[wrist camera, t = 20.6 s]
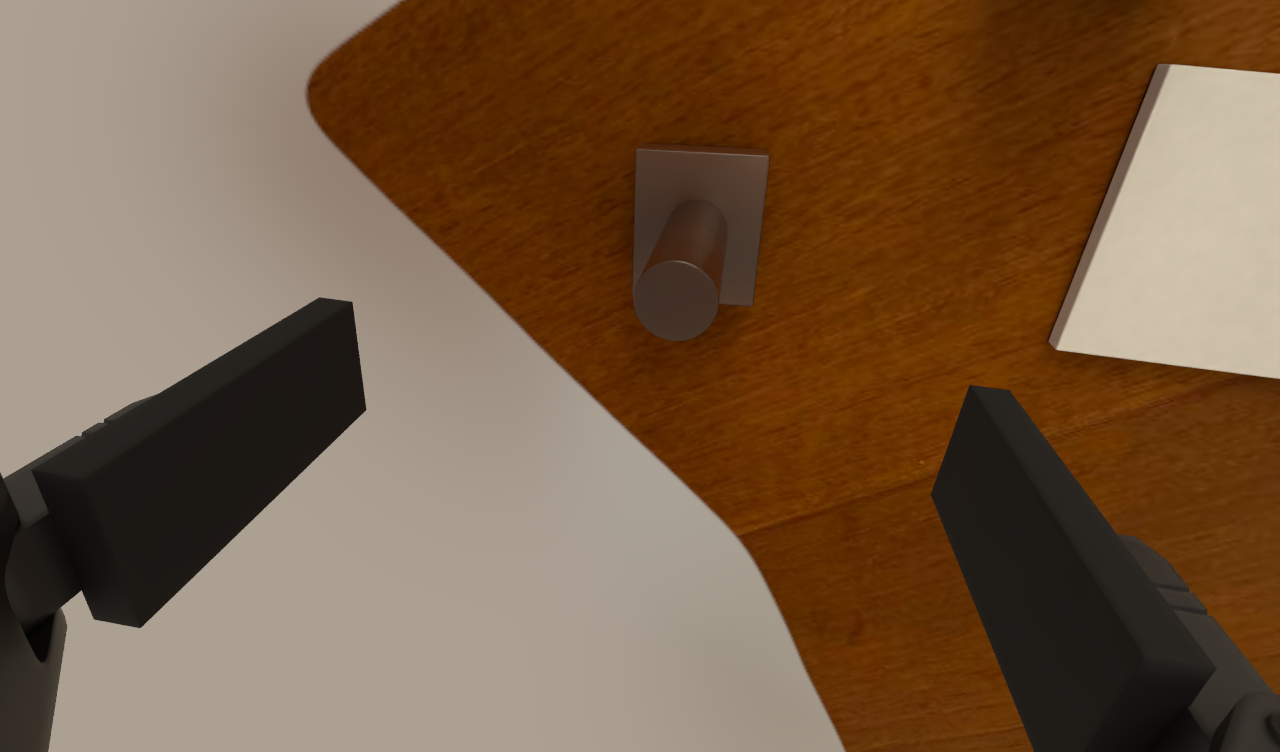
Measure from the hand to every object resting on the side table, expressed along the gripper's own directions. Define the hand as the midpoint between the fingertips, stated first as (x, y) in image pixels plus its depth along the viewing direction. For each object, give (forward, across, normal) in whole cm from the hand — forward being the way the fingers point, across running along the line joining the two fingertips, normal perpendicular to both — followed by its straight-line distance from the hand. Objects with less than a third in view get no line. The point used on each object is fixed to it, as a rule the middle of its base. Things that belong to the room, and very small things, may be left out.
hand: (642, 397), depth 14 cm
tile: (+19, +23, +2) cm, 30 cm away
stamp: (+19, 0, 0) cm, 19 cm away
